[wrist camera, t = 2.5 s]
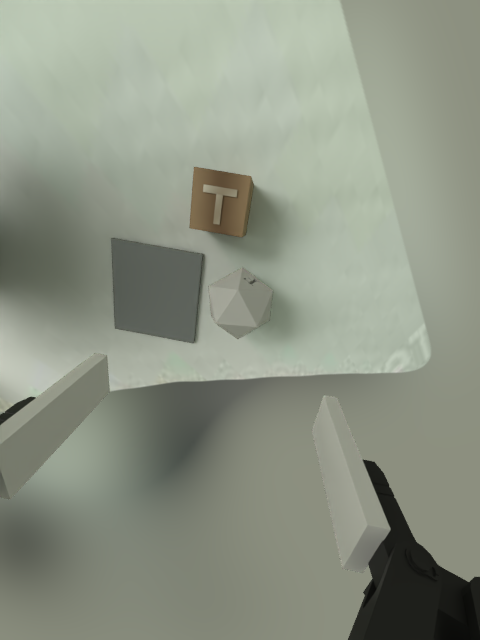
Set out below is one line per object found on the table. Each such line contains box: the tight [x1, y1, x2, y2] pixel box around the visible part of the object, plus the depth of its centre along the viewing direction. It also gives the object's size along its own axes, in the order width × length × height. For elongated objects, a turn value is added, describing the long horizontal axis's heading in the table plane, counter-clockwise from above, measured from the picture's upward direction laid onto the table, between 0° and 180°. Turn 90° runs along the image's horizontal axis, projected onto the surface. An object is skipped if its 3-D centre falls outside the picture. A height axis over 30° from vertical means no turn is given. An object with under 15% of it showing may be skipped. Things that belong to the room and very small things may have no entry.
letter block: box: [190, 167, 254, 237], centre depth 29 cm, size 6×6×6 cm
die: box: [208, 267, 273, 339], centre depth 32 cm, size 8×9×10 cm
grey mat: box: [111, 238, 203, 343], centre depth 37 cm, size 13×14×1 cm
